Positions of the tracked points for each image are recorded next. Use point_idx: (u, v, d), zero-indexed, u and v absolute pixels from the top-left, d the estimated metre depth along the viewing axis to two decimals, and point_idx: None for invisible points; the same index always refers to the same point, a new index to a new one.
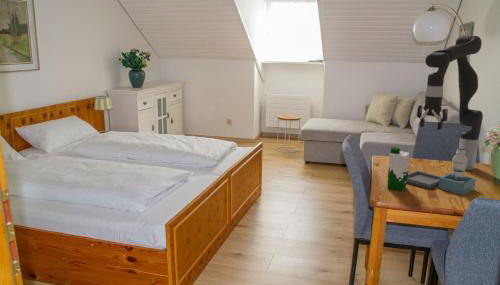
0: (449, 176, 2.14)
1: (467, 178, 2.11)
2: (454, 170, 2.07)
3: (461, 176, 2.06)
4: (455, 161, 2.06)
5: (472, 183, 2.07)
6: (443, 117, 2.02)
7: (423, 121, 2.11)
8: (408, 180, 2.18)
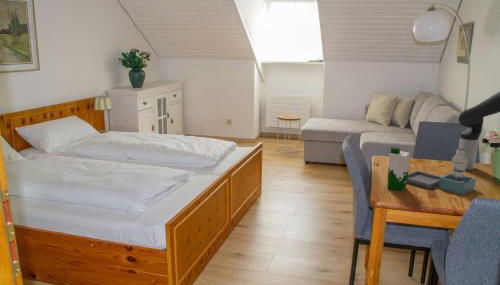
0: (449, 176, 2.14)
1: (467, 178, 2.11)
2: (454, 170, 2.07)
3: (461, 176, 2.06)
4: (455, 161, 2.06)
5: (472, 183, 2.07)
6: None
7: None
8: (408, 180, 2.18)
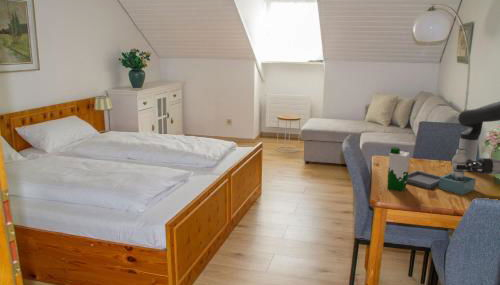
0: (449, 176, 2.14)
1: (467, 178, 2.11)
2: (454, 170, 2.07)
3: (461, 176, 2.06)
4: (455, 161, 2.06)
5: (472, 183, 2.07)
6: None
7: None
8: (408, 180, 2.18)
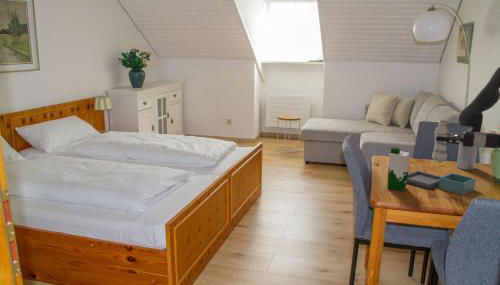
0: (449, 176, 2.14)
1: (467, 178, 2.11)
2: (435, 142, 2.10)
3: (442, 148, 2.08)
4: (435, 132, 2.09)
5: (472, 183, 2.07)
6: None
7: None
8: (408, 180, 2.18)
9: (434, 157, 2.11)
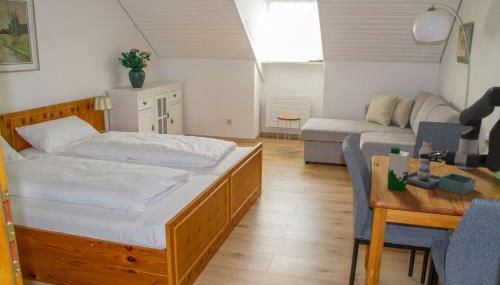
0: (449, 176, 2.14)
1: (467, 178, 2.11)
2: (419, 161, 2.18)
3: (425, 168, 2.16)
4: (419, 152, 2.17)
5: (472, 183, 2.07)
6: None
7: None
8: (408, 180, 2.18)
9: (418, 176, 2.19)
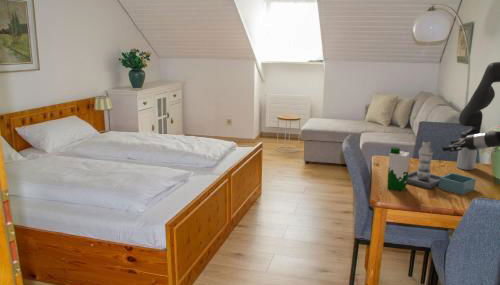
0: (449, 176, 2.14)
1: (467, 178, 2.11)
2: (419, 161, 2.18)
3: (425, 168, 2.16)
4: (419, 152, 2.17)
5: (472, 183, 2.07)
6: None
7: None
8: (408, 180, 2.18)
9: (418, 176, 2.19)
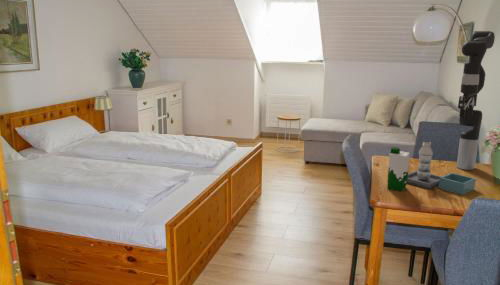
0: (449, 176, 2.14)
1: (467, 178, 2.11)
2: (419, 161, 2.18)
3: (425, 168, 2.16)
4: (419, 152, 2.17)
5: (472, 183, 2.07)
6: (475, 102, 2.15)
7: None
8: (408, 180, 2.18)
9: (418, 176, 2.19)
